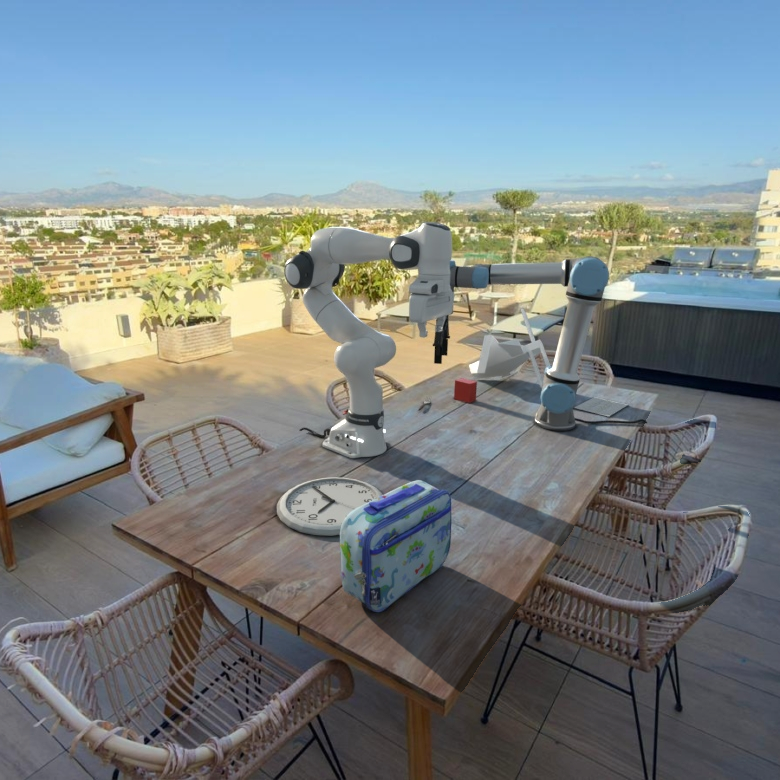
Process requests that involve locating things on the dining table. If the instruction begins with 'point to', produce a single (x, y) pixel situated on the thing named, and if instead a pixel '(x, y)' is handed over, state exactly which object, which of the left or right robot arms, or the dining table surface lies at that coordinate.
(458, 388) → the brick
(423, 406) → the fork
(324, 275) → the left robot arm
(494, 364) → the white plastic object
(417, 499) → the lunch box
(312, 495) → the wall clock
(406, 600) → the dining table surface
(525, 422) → the dining table surface
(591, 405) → the invitation card
